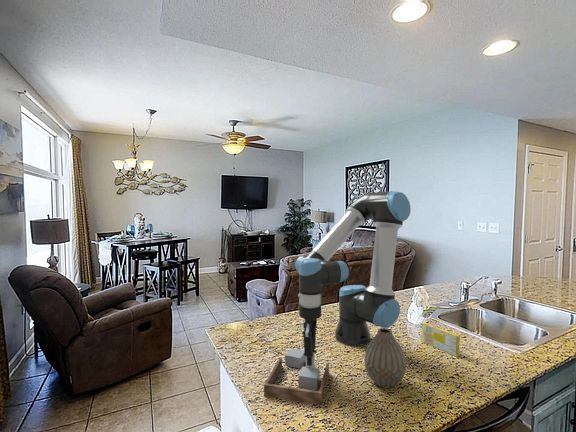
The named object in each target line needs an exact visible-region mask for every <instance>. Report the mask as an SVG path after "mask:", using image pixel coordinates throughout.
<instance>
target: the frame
mask: <svg viewBox="0 0 576 432" xmlns="http://www.w3.org/2000/svg"><path fill="white" fill-rule="evenodd" d="M282 368H283V357H280V356H279V358H278V360H277V361H276V363H275V365H274V367H273V369H272V371H271V372H270V373H269V376H268V377H267V379H266V381H265V382H264V384H263V397H268V398H274V399H280V400H287V401H294V402H299V403H304V404H312V405H317V406H322V405H323V404H322V403H323V399H324V396H325V392H326V388H327V382H328V378H329V374H330V363H328V362H327V363H326V364H325V368H324V372H323V376H322V380H321V382H320V388H319V390H314V389H307V388H300V387H294V386H288V385H287V386H286V385H280V384H274V383H275V381H276V380H277V377H278V375H279V373H280V372H281V370H282Z"/></svg>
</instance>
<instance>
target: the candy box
mask: <svg viewBox="0 0 576 432" xmlns="http://www.w3.org/2000/svg"><path fill="white" fill-rule="evenodd" d="M460 337H461V336H460V335H458V334H456V333H454V332H451V331H448V330H446V329H442V328H440V327H437V326H435V325H433V324H430V323H427V322H421V342H422V343H424V344H426V345H429V346H431V347H433V348H436V349H437V350H440V351H442V352H444V353H446V354H448V355H451V356H452V357H455V358H458V357H460V342H461V341H460Z"/></svg>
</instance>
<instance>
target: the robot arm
mask: <svg viewBox="0 0 576 432" xmlns="http://www.w3.org/2000/svg"><path fill="white" fill-rule="evenodd" d="M410 214H411V203H410V200H409V199H408V197H407V195H406V194H405V193H404V192H402V191H392V190H389V191H378V192H377V191H376V192H375V191H371V192H367V193H365V194H363V195H361V196H360V197H358V198H357V199H355V201H353V202H352V203H351V204H349V206H348V207H347V208H346V209H345V214H344V215H343V216H342V217H341V218H340V219H339V220H338V221H337V222H336V224H335V225H333V227H332V228H331V229H330V230H329V231H328V232H327V233H326V234H325V235H324V237H322V239H321V240H320V241H318V243H317V244H316V246H315V247H313V248H312V249H311V250H310V252H309V253H308V254H306V255H300V256H299V257H298V258H296V260H295V263H294V264H295V266H294V267H295V270H296V272H297V273H298V289H299V293H297V297H298V298H299V299H298V300H299V301H298V303H299V306H298V314H299V317H300V318H301V319H304V322H303V331H302V336H303V350H304V354H303V355H305V356H306V361H305V367H311V368H315V354H317V353H318V352H317V349H316V348H317V347H316V338H317V336H316V335H317V334H316V333H317V325H318V322H317V321H318V319H320V318H321V317H322V306H321V305H322V286H326V285H333V284H339V283H342V282H345V281H346V280H347V279H348V278H349V276H350V275H349V274H350V269H349V266H348V265H347V263H346V262H345V261H343V260H335V261H330V259H331V258H332V257H333V256H334V254H336V252H337V251H338V250H339V249H340V248H341V246H342V245H343V244H344V243H345V242H346V241H347V240H348V238H350V237H351V235H352V234H353V233H354V232H355V230H357V228H358V227H359V226H363V225H364V224H365V223H366V222H367V221H369V220H372V224H373V225H374V226H375V231H374V232H375V233H374V243H373V251H372V261H371V271H370V279H369V285H368V286H367V287H366V286H365V285H362V284H352V285H351V284H350V285H344V286H342V287H340V289H339V293H338V294H339V295H338V305H339V306H338V307H339V309H338V312H339V313H338V315H339V316H338V318H339V319H338V322H337V325H336V329H335V332H334V333H335V335H334V336H335V339H336V341H338V342H339V343H342V344H343V345H347V346H363V345H368V344H369V343H370V341H371V333H370V330H369V327H368V323H370V324H372V325H374V326H375V327H380V328H387V329H389V328H390V327H392V326H393V325H394V324H395V323H396V322H397V320H398V319H399V317H400V313H401V305H400V303H399V301H398V300H396V299H395V298H396V293H395V292H394V290H393V289H392V288H393V280H394V279H393V278H394V271H395V270H394V268H395V260H396V259H395V258H396V251H397V240H398V231H399V229H400V228H402V227H403V222H405V221H406V220H408V219H409V217H410ZM315 349H316V350H315Z"/></svg>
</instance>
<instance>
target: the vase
mask: <svg viewBox="0 0 576 432" xmlns="http://www.w3.org/2000/svg"><path fill="white" fill-rule="evenodd" d="M363 362H364V368H365V371H366V373H367V375H368V377H369V378H370V380H371V381H372V382H373V383H374V384H375V385H376V386H378V387H381V388H385V389H392V388H394V387H396V386H397V385H399V384H400V383H401V382H402V381H403V379H404V378H405V375H406V370H407V359H406V356H405V352H404V350H403V348H402V346H401V345H400V343H399V341H398V340H397V339H396V337H394V334H393V331H392V329H390V328H383V327H380V328H378V329H377V333H376V334H375V336H374V337H373V338H372V339H370V341H369V343H367V347H366V349H365V353H364V361H363Z"/></svg>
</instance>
